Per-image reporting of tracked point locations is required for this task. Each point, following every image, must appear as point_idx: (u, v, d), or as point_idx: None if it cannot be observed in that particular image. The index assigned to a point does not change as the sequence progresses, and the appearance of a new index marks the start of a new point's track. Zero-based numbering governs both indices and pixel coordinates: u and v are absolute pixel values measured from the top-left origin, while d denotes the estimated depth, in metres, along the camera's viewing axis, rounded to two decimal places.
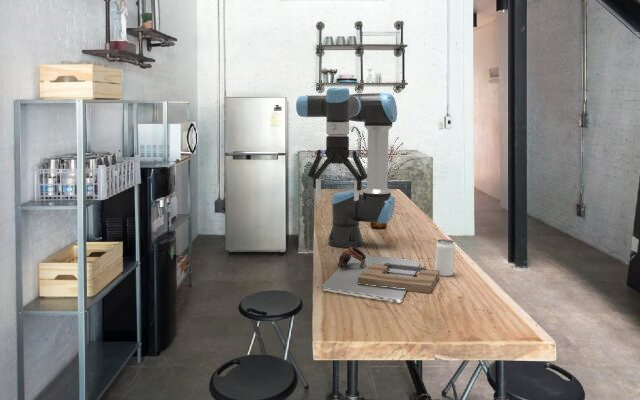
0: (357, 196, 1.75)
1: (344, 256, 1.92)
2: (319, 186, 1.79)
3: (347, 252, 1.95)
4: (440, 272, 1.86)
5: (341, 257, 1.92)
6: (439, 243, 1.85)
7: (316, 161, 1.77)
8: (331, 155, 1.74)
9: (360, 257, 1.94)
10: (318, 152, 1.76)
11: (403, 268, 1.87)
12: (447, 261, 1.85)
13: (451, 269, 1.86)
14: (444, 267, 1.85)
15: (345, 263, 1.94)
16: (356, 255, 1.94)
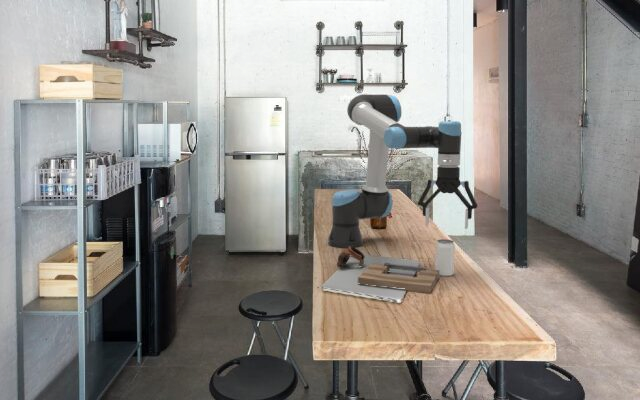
0: (467, 224, 1.83)
1: (343, 256, 1.92)
2: (428, 214, 1.87)
3: (346, 252, 1.96)
4: (440, 272, 1.86)
5: (340, 257, 1.93)
6: (439, 243, 1.85)
7: (426, 190, 1.85)
8: (443, 185, 1.82)
9: (359, 257, 1.95)
10: (429, 182, 1.84)
11: (403, 268, 1.87)
12: (447, 261, 1.85)
13: (451, 269, 1.86)
14: (444, 267, 1.85)
15: (344, 263, 1.94)
16: (355, 255, 1.94)
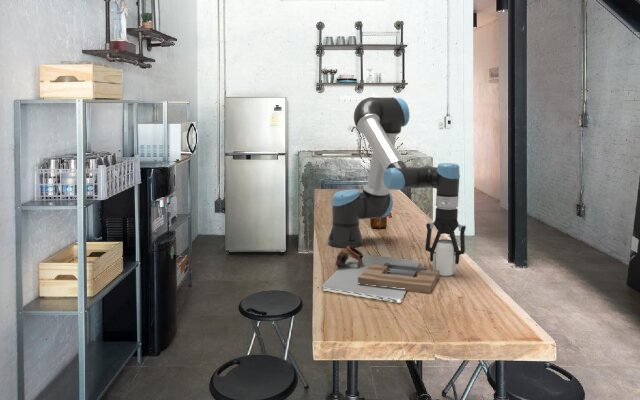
0: (455, 269, 1.87)
1: (342, 255, 1.93)
2: (435, 259, 1.89)
3: (344, 251, 1.96)
4: (440, 272, 1.86)
5: (339, 256, 1.93)
6: (439, 243, 1.85)
7: (429, 234, 1.87)
8: (441, 226, 1.85)
9: (357, 256, 1.95)
10: (428, 226, 1.87)
11: (403, 268, 1.87)
12: (447, 261, 1.84)
13: (451, 269, 1.86)
14: (444, 267, 1.85)
15: (343, 262, 1.95)
16: (354, 254, 1.95)
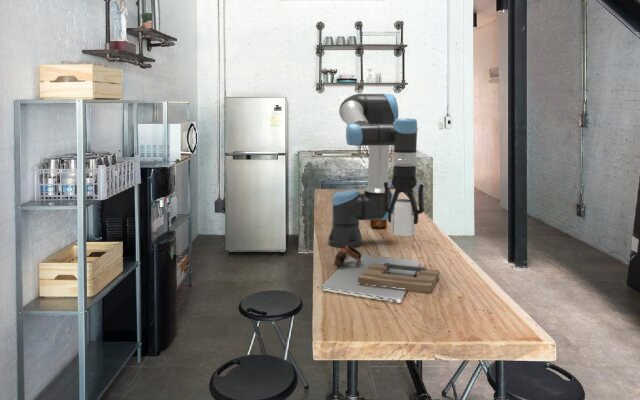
0: (413, 229, 1.79)
1: (340, 255, 1.94)
2: None
3: (343, 251, 1.97)
4: (398, 233, 1.78)
5: (337, 256, 1.94)
6: (397, 202, 1.77)
7: (386, 194, 1.79)
8: (398, 184, 1.77)
9: (356, 256, 1.96)
10: (385, 185, 1.79)
11: (403, 268, 1.87)
12: (405, 220, 1.77)
13: (410, 229, 1.78)
14: (402, 227, 1.77)
15: (341, 262, 1.96)
16: (352, 254, 1.96)
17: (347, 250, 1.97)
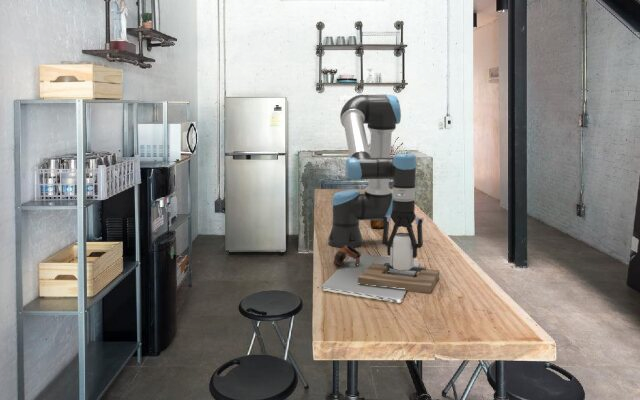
0: (412, 263, 1.81)
1: (339, 254, 1.94)
2: None
3: (342, 250, 1.98)
4: (397, 266, 1.80)
5: (336, 255, 1.94)
6: (396, 236, 1.79)
7: (385, 228, 1.81)
8: (397, 219, 1.78)
9: (355, 255, 1.96)
10: (384, 219, 1.81)
11: None
12: (404, 255, 1.78)
13: (408, 263, 1.79)
14: (401, 261, 1.79)
15: (340, 261, 1.96)
16: (351, 253, 1.96)
17: (346, 250, 1.97)
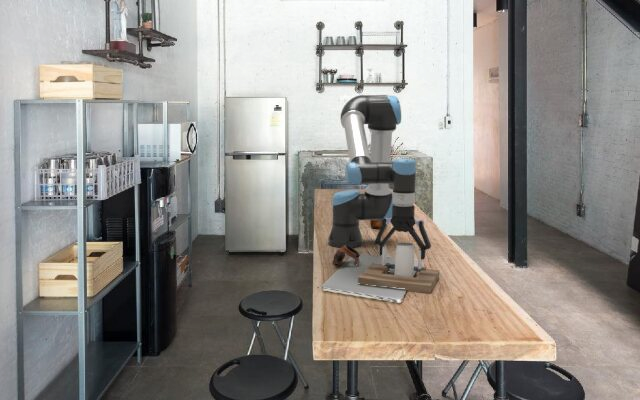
0: (421, 264, 1.80)
1: (339, 254, 1.94)
2: (385, 253, 1.84)
3: (341, 250, 1.98)
4: None
5: (336, 255, 1.95)
6: (398, 246, 1.80)
7: (382, 229, 1.82)
8: (397, 224, 1.79)
9: (354, 255, 1.97)
10: (384, 220, 1.81)
11: None
12: (406, 264, 1.79)
13: (410, 273, 1.80)
14: (403, 270, 1.79)
15: (339, 261, 1.96)
16: (351, 253, 1.96)
17: (345, 249, 1.97)
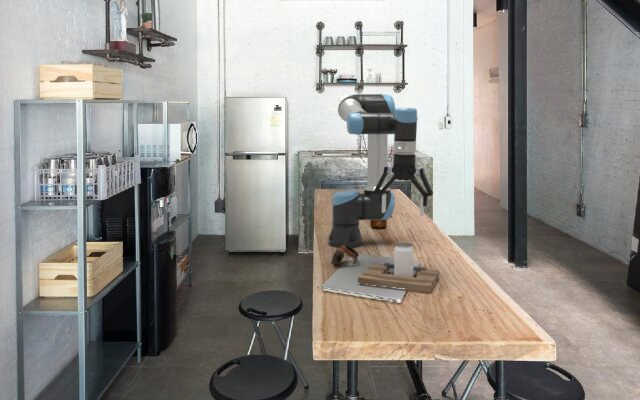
0: (423, 211, 1.82)
1: (338, 254, 1.95)
2: (385, 201, 1.87)
3: (340, 250, 1.98)
4: None
5: (335, 255, 1.95)
6: (397, 247, 1.80)
7: (383, 177, 1.85)
8: (398, 172, 1.81)
9: (353, 255, 1.97)
10: (385, 169, 1.84)
11: None
12: (406, 265, 1.79)
13: (410, 273, 1.80)
14: (403, 271, 1.79)
15: (338, 261, 1.97)
16: (350, 253, 1.97)
17: (344, 249, 1.98)
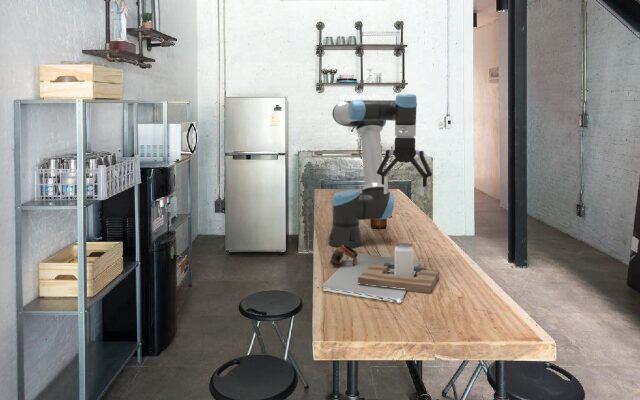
0: (422, 192, 1.94)
1: (337, 254, 1.95)
2: (387, 183, 1.99)
3: (339, 250, 1.99)
4: None
5: (334, 255, 1.95)
6: (397, 247, 1.80)
7: (385, 160, 1.96)
8: (399, 155, 1.93)
9: (352, 254, 1.98)
10: (387, 152, 1.96)
11: None
12: (406, 265, 1.79)
13: (410, 274, 1.80)
14: (403, 271, 1.79)
15: (338, 260, 1.97)
16: (349, 252, 1.97)
17: (343, 249, 1.98)
